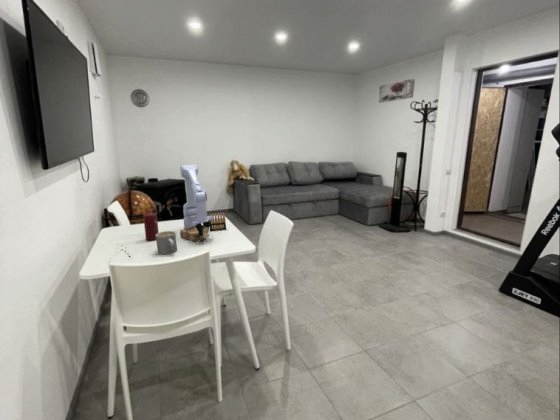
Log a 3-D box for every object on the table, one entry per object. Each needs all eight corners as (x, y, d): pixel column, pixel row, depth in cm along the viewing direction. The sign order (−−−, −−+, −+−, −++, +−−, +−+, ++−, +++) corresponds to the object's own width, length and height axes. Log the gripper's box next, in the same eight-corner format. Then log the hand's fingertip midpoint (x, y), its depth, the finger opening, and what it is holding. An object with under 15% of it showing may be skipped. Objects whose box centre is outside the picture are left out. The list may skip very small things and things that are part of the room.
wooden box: (180, 238, 183) (179, 232, 182) (190, 234, 189) (189, 228, 188) (196, 242, 175) (195, 235, 174) (205, 238, 181) (205, 232, 180)
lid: (180, 231, 182) (179, 227, 181) (190, 228, 188) (189, 224, 187) (196, 235, 174) (195, 231, 173) (206, 232, 180) (205, 228, 179)
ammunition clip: (226, 229, 199) (224, 211, 196) (226, 229, 197) (225, 212, 194) (209, 230, 195) (208, 213, 193) (210, 231, 194) (208, 213, 191)
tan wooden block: (199, 237, 176) (198, 227, 174) (204, 235, 178) (203, 226, 177) (203, 238, 174) (203, 228, 172) (208, 236, 176) (207, 227, 175)
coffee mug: (156, 250, 164) (154, 233, 162) (174, 246, 169) (172, 229, 167) (161, 258, 153) (158, 240, 151) (180, 254, 158) (178, 236, 156)
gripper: (196, 216, 164) (198, 239, 168) (215, 210, 176) (217, 232, 179) (188, 214, 168) (190, 237, 172) (207, 208, 180) (209, 230, 183)
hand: (203, 234), depth 176 cm, fingers closed on tan wooden block, 3 cm apart
